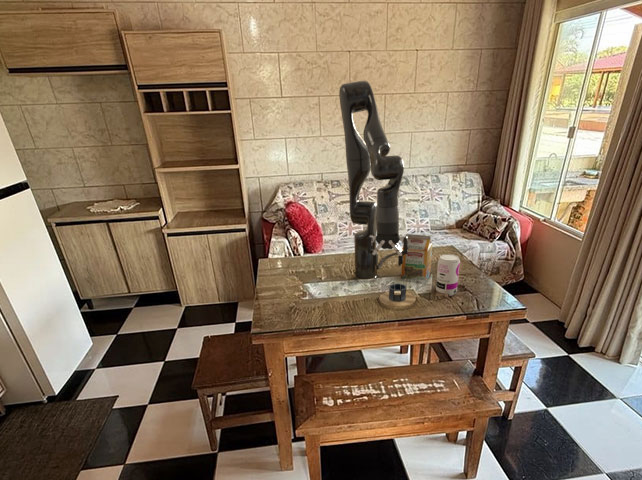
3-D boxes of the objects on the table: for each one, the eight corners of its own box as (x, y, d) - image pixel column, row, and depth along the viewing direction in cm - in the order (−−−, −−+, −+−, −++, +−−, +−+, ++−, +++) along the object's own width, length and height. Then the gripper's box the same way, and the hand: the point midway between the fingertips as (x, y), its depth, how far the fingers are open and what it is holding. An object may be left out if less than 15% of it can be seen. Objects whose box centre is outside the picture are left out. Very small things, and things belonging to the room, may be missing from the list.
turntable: (391, 291, 167) (391, 288, 166) (421, 299, 159) (422, 296, 159) (372, 303, 158) (372, 300, 157) (403, 313, 150) (403, 309, 149)
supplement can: (457, 289, 166) (461, 254, 159) (455, 298, 160) (459, 261, 152) (437, 287, 169) (440, 252, 161) (434, 295, 162) (437, 259, 155)
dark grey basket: (389, 294, 161) (389, 283, 159) (405, 295, 160) (406, 283, 158) (388, 303, 154) (388, 292, 151) (405, 304, 153) (406, 292, 150)
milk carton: (401, 280, 177) (402, 237, 168) (406, 271, 185) (408, 230, 176) (425, 282, 173) (428, 239, 164) (430, 274, 182) (433, 232, 173)
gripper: (410, 217, 139) (409, 262, 147) (369, 216, 143) (370, 260, 151) (407, 222, 133) (406, 269, 141) (364, 221, 137) (366, 267, 145)
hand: (387, 264), depth 146 cm, fingers open, 8 cm apart
